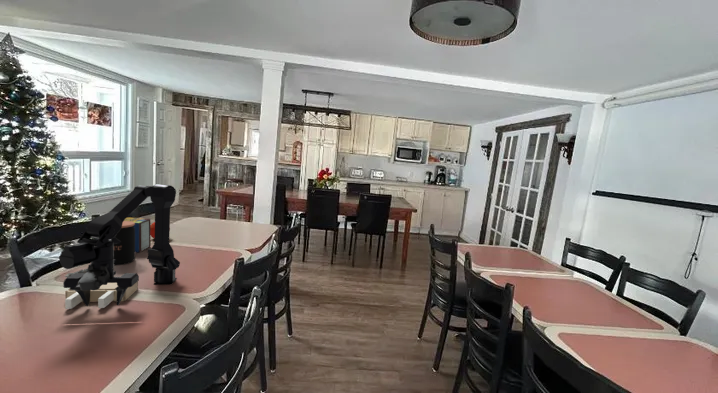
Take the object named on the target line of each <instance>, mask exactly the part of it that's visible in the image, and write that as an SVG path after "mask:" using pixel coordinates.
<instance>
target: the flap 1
mask: <svg viewBox="0 0 718 393" xmlns="http://www.w3.org/2000/svg"><path fill="white" fill-rule="evenodd" d="M64 296H65V299H64V306H65V310H72V309H73V308H75V307H76V306H77V305H79V304H80V303H84V302H83V300H82V298H81V296H80V295H79V293H78V292H76V291H68V290H65V294H64Z"/></svg>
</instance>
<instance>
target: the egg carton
mask: <svg viewBox="0 0 718 393" xmlns="http://www.w3.org/2000/svg"><path fill="white" fill-rule="evenodd" d="M87 271H88V267H87V268H84V269H80V270H77V271H75V272H68V273H67V274H65V276H64V278H68V277H70V276H71V275H73V274H75V273H87Z"/></svg>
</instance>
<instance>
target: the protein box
mask: <svg viewBox="0 0 718 393" xmlns="http://www.w3.org/2000/svg"><path fill="white" fill-rule="evenodd" d="M124 221H131V222H134V223H135V225H134V228H135V253H141V252H143V251H145V250H147V249H149V248H151V247H152V244H151V242H152V240H151V238H152V237H151V235H150V225H151V218H143V217H142V218H140V217H127V218H126V219H125V220H124ZM150 246H151V247H150ZM148 247H149V248H148ZM146 248H147V249H146ZM144 249H145V250H144ZM142 250H143V251H142ZM140 251H141V252H140Z"/></svg>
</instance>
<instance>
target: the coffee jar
mask: <svg viewBox="0 0 718 393" xmlns="http://www.w3.org/2000/svg"><path fill="white" fill-rule="evenodd" d="M134 225H135V223H134V222H131V221H123V224H122V228H121V229H120V231H119V232H118V233H117V235H116V236H115V238H116V239H118V240H120V243H117V244H114V259H116V262H115V263H114V266H121V265H127V264H130V263H132V262H134V260H135V258H136V252H135V228H134Z"/></svg>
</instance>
